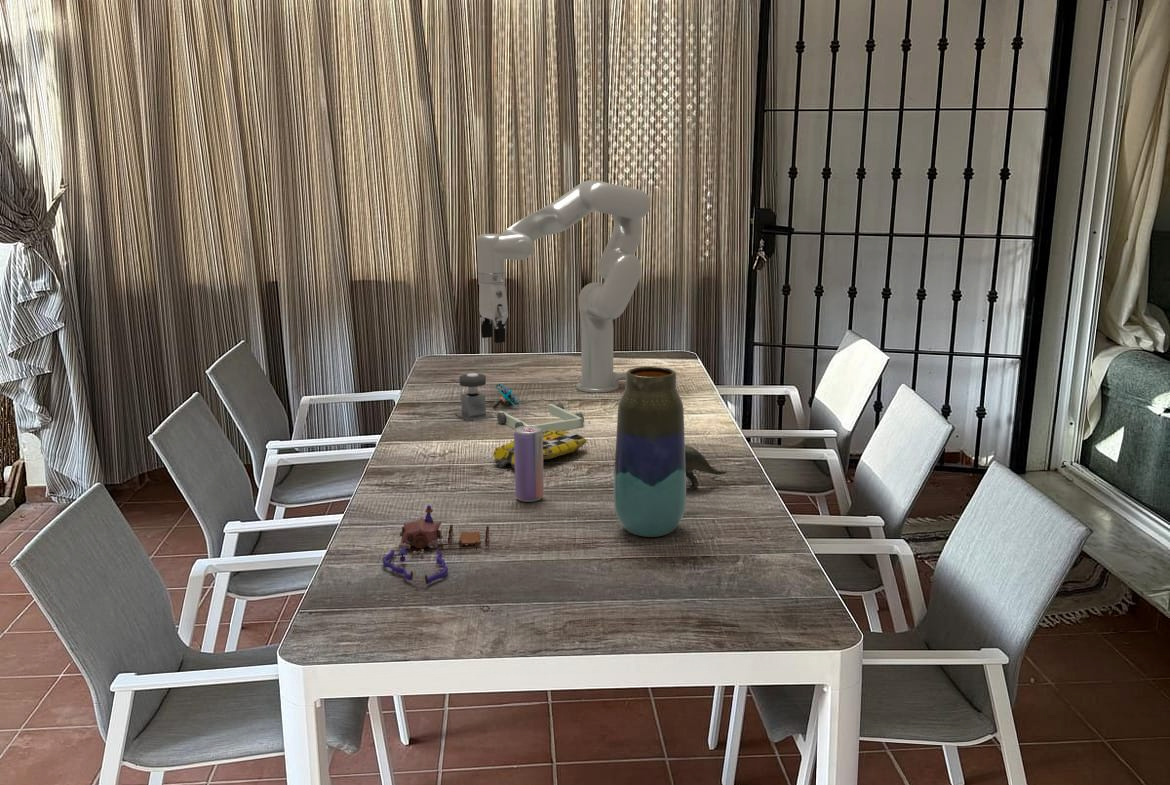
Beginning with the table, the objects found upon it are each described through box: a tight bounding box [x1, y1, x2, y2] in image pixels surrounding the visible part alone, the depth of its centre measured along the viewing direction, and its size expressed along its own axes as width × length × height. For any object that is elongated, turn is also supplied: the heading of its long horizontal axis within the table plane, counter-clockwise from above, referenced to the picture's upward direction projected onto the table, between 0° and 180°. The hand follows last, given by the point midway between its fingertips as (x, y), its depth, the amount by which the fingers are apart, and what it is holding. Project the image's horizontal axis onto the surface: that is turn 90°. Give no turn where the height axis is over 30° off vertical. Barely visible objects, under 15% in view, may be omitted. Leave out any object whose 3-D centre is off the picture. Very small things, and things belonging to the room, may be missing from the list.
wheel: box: [459, 372, 487, 394], centre depth 281 cm, size 7×7×5 cm
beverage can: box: [513, 426, 545, 503], centre depth 216 cm, size 6×6×15 cm
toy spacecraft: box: [493, 430, 587, 469], centre depth 246 cm, size 17×23×5 cm
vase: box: [613, 366, 687, 538], centre depth 196 cm, size 14×14×31 cm
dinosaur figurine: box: [685, 444, 728, 490], centre depth 222 cm, size 22×8×11 cm, turn 71°
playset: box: [382, 504, 490, 586], centre depth 188 cm, size 25×19×7 cm
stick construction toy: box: [492, 382, 520, 410], centre depth 291 cm, size 12×7×8 cm
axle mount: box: [454, 391, 494, 422], centre depth 282 cm, size 8×8×6 cm
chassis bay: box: [496, 403, 585, 433], centre depth 274 cm, size 19×18×3 cm
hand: (493, 339), depth 295 cm, fingers open, 8 cm apart
